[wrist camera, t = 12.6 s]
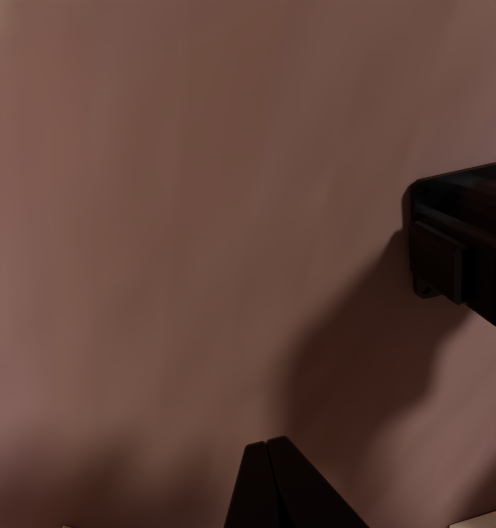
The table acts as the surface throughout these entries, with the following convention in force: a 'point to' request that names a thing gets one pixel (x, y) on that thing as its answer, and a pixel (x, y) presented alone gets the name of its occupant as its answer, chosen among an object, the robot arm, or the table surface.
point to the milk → (478, 522)
